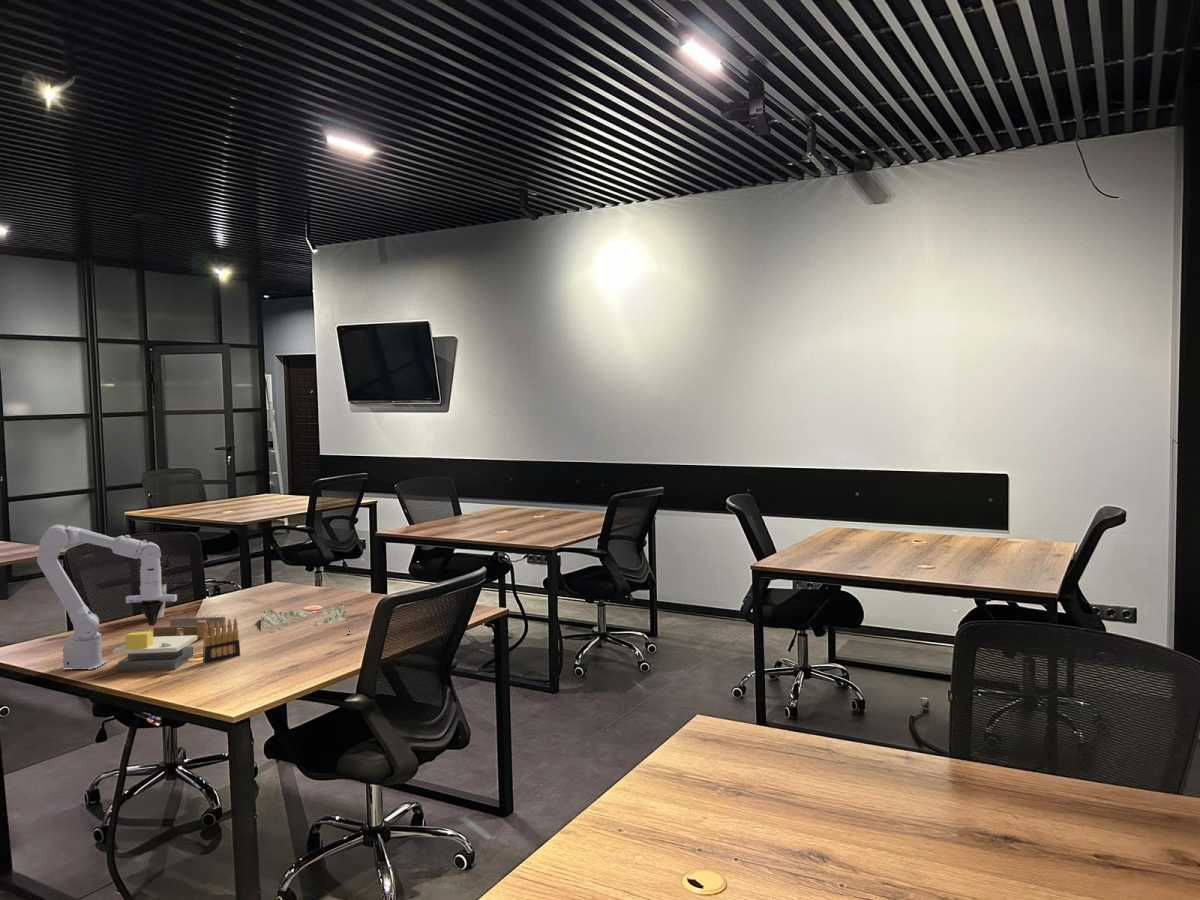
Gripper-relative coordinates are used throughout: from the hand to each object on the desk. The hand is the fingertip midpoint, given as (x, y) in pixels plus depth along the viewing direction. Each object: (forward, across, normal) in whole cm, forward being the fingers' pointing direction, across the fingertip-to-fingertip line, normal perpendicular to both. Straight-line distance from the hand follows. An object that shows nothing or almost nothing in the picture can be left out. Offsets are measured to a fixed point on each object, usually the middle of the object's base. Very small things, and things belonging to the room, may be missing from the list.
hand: (152, 624), depth 258 cm
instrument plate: (+5, -4, +7) cm, 9 cm away
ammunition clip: (+11, -22, +4) cm, 25 cm away
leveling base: (+10, -4, +7) cm, 13 cm away
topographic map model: (+11, -38, -33) cm, 52 cm away
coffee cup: (+11, +22, -54) cm, 59 cm away
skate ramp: (+11, +1, -25) cm, 28 cm away
